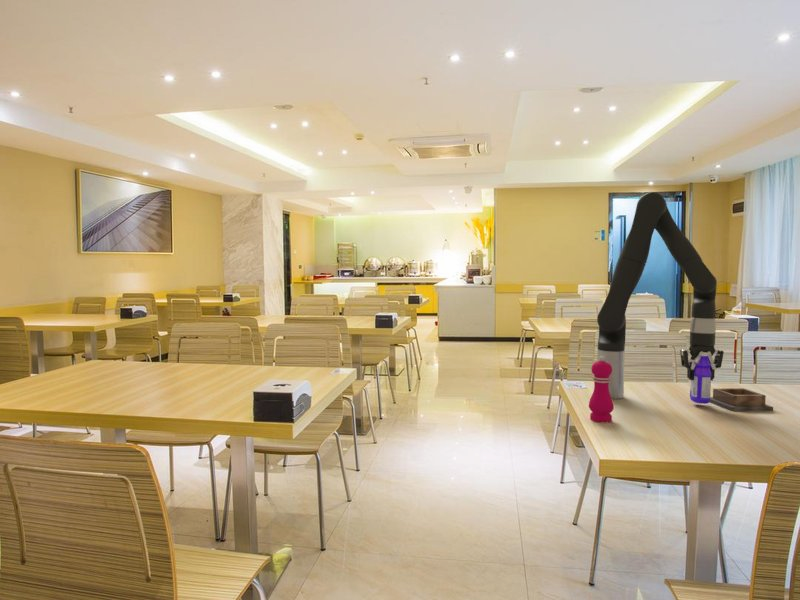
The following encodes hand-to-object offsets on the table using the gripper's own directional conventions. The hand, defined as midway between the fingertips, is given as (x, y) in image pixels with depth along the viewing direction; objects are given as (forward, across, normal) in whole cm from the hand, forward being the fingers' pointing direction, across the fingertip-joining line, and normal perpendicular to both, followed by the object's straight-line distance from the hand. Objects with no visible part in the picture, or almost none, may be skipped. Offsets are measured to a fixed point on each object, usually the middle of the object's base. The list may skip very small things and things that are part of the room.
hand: (700, 379), depth 180 cm
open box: (+9, +13, 0) cm, 16 cm away
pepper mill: (+10, -41, -16) cm, 45 cm away
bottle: (+8, 0, 0) cm, 8 cm away
